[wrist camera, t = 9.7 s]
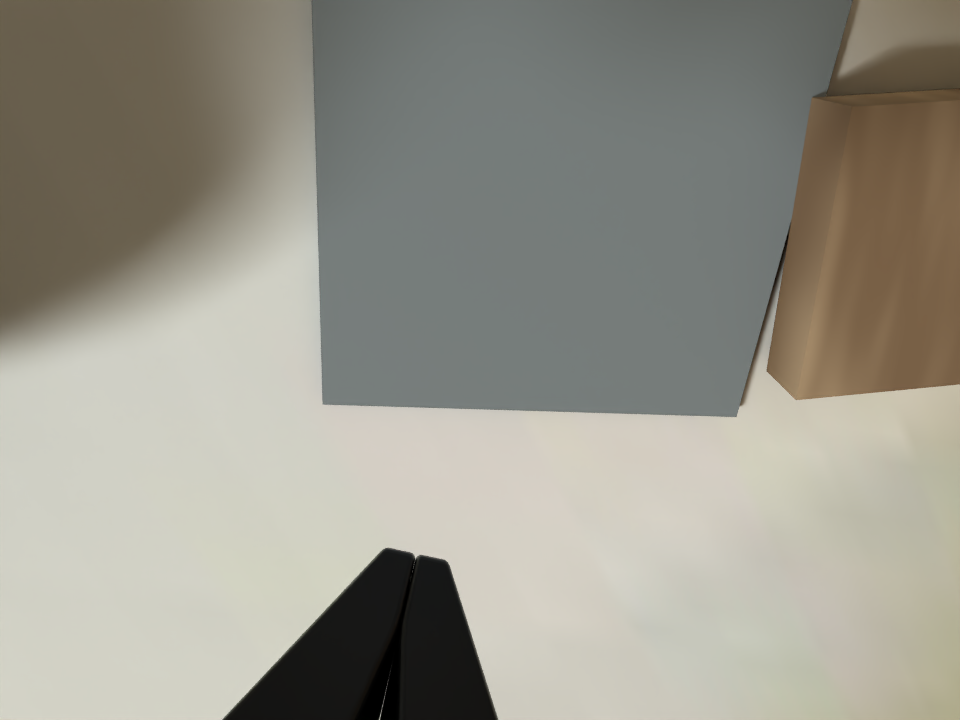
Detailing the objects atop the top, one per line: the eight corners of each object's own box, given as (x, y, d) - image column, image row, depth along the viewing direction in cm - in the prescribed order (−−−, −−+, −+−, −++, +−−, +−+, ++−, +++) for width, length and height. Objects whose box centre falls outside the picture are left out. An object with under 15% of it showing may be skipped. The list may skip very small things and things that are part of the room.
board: (796, 400, 20) (1085, 372, 21) (852, 106, 17) (1200, 85, 17) (766, 370, 22) (1036, 345, 23) (811, 97, 18) (1132, 78, 19)
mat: (324, 397, 22) (322, 404, 21) (312, -54, 16) (310, -56, 16) (731, 410, 23) (736, 416, 22) (845, -5, 17) (854, -5, 17)
